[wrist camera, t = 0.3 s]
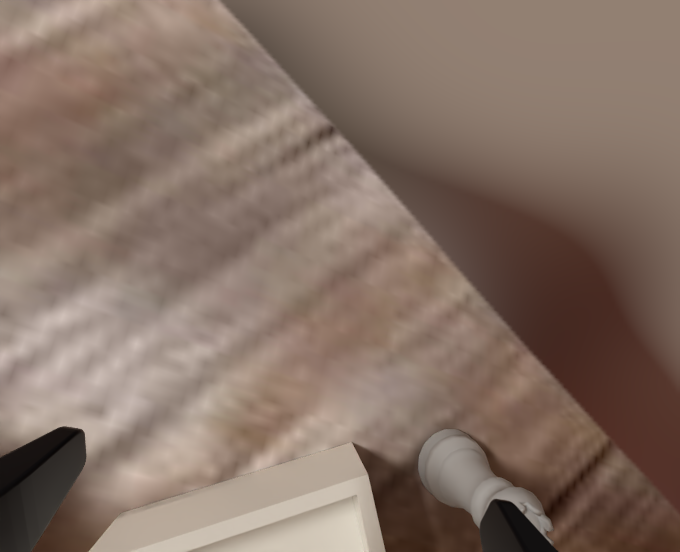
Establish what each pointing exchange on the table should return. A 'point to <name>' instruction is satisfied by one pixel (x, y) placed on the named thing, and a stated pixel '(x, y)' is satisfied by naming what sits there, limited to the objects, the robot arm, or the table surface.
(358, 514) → the white square tray
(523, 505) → the rook chess piece
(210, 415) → the table surface
